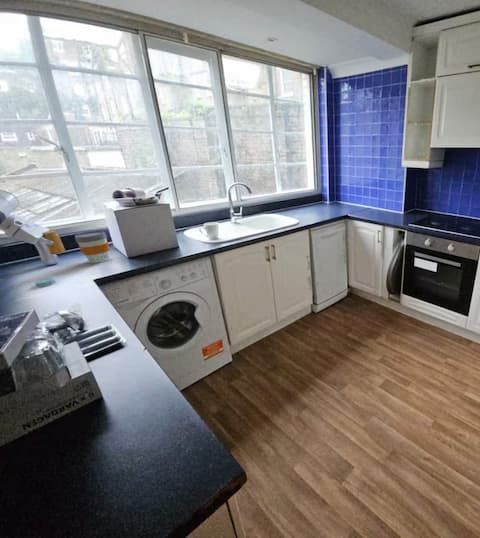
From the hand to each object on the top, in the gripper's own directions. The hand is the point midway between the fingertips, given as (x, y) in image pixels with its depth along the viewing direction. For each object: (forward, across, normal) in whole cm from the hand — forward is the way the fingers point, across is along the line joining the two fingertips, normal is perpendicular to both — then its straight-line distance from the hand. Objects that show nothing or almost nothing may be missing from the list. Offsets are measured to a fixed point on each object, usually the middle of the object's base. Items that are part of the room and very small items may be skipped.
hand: (54, 241), depth 144 cm
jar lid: (+6, +17, -13) cm, 22 cm away
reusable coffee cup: (+20, -7, -2) cm, 21 cm away
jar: (+3, 0, -4) cm, 5 cm away
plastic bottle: (+5, -16, -17) cm, 24 cm away
